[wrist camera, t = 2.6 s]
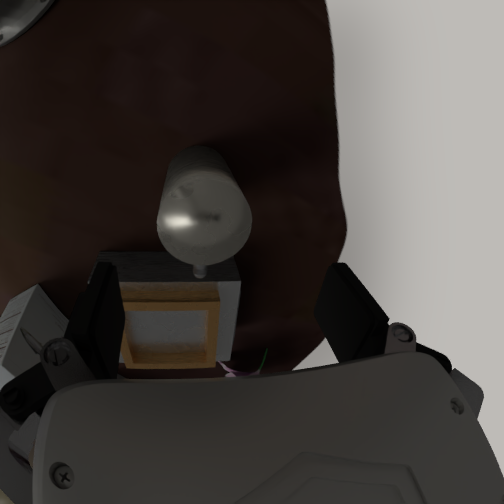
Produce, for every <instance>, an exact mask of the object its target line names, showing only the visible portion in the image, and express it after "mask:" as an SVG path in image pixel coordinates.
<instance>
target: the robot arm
mask: <svg viewBox="0 0 504 504" xmlns="http://www.w3.org/2000/svg"><path fill="white" fill-rule="evenodd" d="M53 2H54V0H0V47H1V46H4V45H6V44H8V43H10V42H12V41H13V40H15V39H16V38H18V37H19V36H21V35H22V34H23V33H25V32H26V31H27V30H28V29H29V28H30V27H31V26H33V25H34V24H35V23H36V22H37V21H38V20H39V19H40V18H41V17H42V16H43V14H44V13H45V12H46V11H47V9H48V8H49V7H50V6H51V5H52V3H53ZM314 316H315V318H316V320H317V322H318V324H319V325H320V327H321V329H322V331H323V333H324V335H325V337H326V339H327V341H328V343H329V345H330V346H331V348H332V350H333V352H334V354H335V356H336V358H337V360H338V362H339V363H336V364H330V365H325V366H319V367H312V368H306V369H300V370H292V371H285V372H277V373H268V374H259V375H249V376H237V377H222V378H204V379H117V373H118V365H119V358H120V351H121V344H122V338H123V332H124V326H125V311H124V306H123V301H122V296H121V290H120V285H119V279H118V273H117V267H116V265H112V262H98V263H97V265H96V268H95V270H94V272H93V275H92V277H91V280H90V282H89V284H88V287H87V289H86V292H81V293H80V294H79V296H78V299H77V301H76V304H75V306H74V309H73V312H72V314H71V317H70V320H69V322H68V325H67V328H66V331H65V334H64V337H63V338H54V339H52V340H49V341H48V342H47V343H45V345H44V346H43V347H42V349H41V351H40V360H41V362H39V363H37V364H36V365H34V366H33V367H31V368H30V369H28V370H26V371H25V372H23V373H22V374H20V375H18V376H17V377H15V378H14V379H12V380H11V381H9V382H8V383H6V384H5V385H4V386H3V387H2V389H1V390H0V489H1V490H2V491H3V492H4V493H5V494H6V495H7V496H8V497H9V498H10V500H12V501H13V503H15V504H504V477H503V475H502V472H501V470H500V468H499V464H498V462H497V460H496V457H495V455H494V452H493V450H492V448H491V446H490V444H489V442H488V440H487V438H486V436H485V434H484V432H483V430H482V428H481V426H480V424H479V422H478V420H477V418H478V415H479V412H480V408H481V405H482V402H483V398H484V394H483V391H482V389H481V388H480V387H479V386H478V385H477V384H476V383H474V382H473V381H472V380H470V379H469V378H468V377H466V376H465V375H464V374H462V373H461V372H460V371H458V370H457V369H455V368H454V369H453V370H452V365H451V362H450V360H449V359H448V358H447V357H446V356H445V355H443V354H442V353H439V352H437V351H435V350H432V349H430V348H428V347H426V346H423V345H421V344H419V343H417V342H416V335H415V333H414V331H413V330H412V329H411V328H410V327H408V326H407V325H405V324H403V323H399V322H397V323H392V324H391V325H390V326H389V325H388V321H389V318H388V316H387V315H386V314H385V312H384V311H383V310H382V308H381V307H380V306H379V304H378V303H377V302H376V300H375V299H374V298H373V297H372V296H371V294H370V293H369V291H368V290H367V289H366V288H365V286H364V285H363V284H362V283H361V281H360V280H359V279H358V278H357V276H356V275H355V274H354V273H353V271H352V270H351V269H350V268H349V267H348V265H347V264H346V263H333V264H332V265H331V266H329V267H328V270H327V273H326V276H325V279H324V282H323V285H322V288H321V291H320V294H319V297H318V300H317V303H316V305H315V308H314ZM35 439H36V443H35V451H34V460H33V469H32V468H31V466H30V464H29V461H28V455H29V452H30V450H31V449H32V447H33V446H34V445H33V444H32V443H33V441H34V440H35ZM69 467H70V468H69ZM66 472H67V473H66Z"/></svg>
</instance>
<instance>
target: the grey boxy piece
mask: <svg viewBox="0 0 504 504" xmlns="http://www.w3.org/2000/svg"><path fill="white" fill-rule="evenodd" d="M98 262H112V265H116V267H117V273H118V279H119V285H120V290H121V296H122V301H123V306H124V311H125V326H124V332H123V338H122V344H121V351H120V358H119V362H121V363H125V365H126V368H132V369H185V368H209V367H215V363H216V361H230V357H231V349H232V344H233V342H234V335H235V328H236V321H237V315H238V308H239V301H240V294H241V290H240V286H241V279H240V276H239V272H238V269H237V266H236V263H235V259H234V256H232V257H230V258H228V259H227V260H225V261H222V262H220V263H216V264H212V265H208V267H207V274H206V276H205V277H204V278H197V277H195V276H194V274H193V264H189V263H185V262H183V261H181V260H179V259H177V258H175V257H174V256H173V255H171V254H170V253H169V252H99V254H98V257H97V259H96V262H95V264H94V267H93V269H92V272H91V274H90V277H89V279H88V284H89V282H90V280H91V277H92V275H93V272H94V270H95V268H96V265H97V263H98Z"/></svg>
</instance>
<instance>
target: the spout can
mask: <svg viewBox="0 0 504 504" xmlns="http://www.w3.org/2000/svg"><path fill="white" fill-rule="evenodd" d="M251 227H252V215H251V210H250V207H249V205H248V203H247V201H246V199H245V197H244V195H243V193H242V191H241V190H240V188H239V186H238V184H237V182H236V180H235V178H234V176H233V175H232V173H231V171H230V169H229V167H228V165H227V164H226V162H225V160H224V158H223V157H222V156H221V155H220V154H219V153H218V152H217V151H216V150H214V149H212V148H210V147H206V146H191V147H188V148H185V149H183V150H182V151H180V152H179V153H178V154H177V155H176V156H175V157H174V158H173V159H172V161H171V162H170V165H169V167H168V171H167V176H166V180H165V184H164V189H163V194H162V198H161V203H160V208H159V213H158V219H157V230H158V235H159V238H160V240H161V242H162V244H163V246H164V247H165V248H166V250H167V251H168V252H169V253H170V254H171V255H173V256H174V257H175V258H177V259H179V260H181V261H183V262H185V263H189V264H193V274H194V276H195V277H197V278H204V277H205V276H206V274H207V267H208V265H212V264H216V263H220V262H222V261H225V260H227V259H228V258H230V257H232V256H233V255H235V254H236V253H237V252H238V251H239V250H240V249H241V248H242V247H243V245H244V244H245V243H246V241H247V239H248V237H249V234H250V232H251Z"/></svg>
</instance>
